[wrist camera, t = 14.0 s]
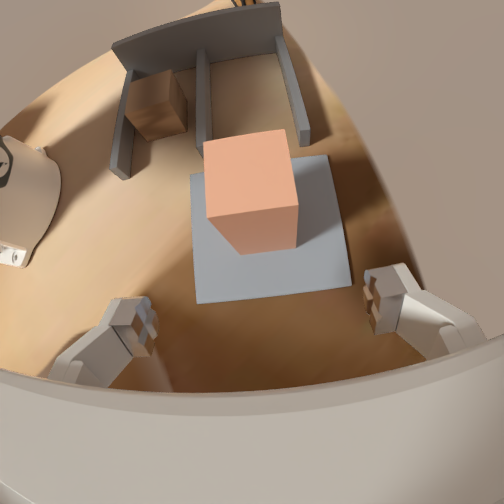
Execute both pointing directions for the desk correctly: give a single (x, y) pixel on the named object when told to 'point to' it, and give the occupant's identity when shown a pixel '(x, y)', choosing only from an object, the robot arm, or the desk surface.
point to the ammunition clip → (243, 2)
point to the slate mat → (275, 262)
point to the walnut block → (157, 106)
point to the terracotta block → (252, 191)
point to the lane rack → (203, 65)
